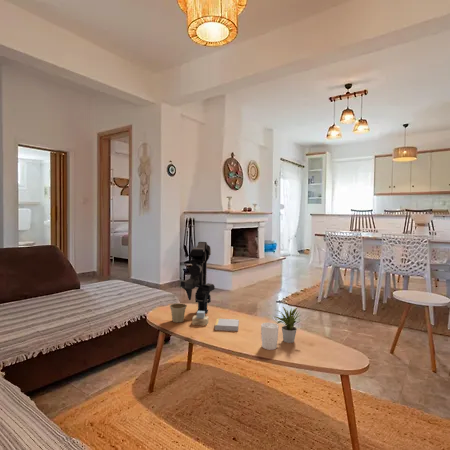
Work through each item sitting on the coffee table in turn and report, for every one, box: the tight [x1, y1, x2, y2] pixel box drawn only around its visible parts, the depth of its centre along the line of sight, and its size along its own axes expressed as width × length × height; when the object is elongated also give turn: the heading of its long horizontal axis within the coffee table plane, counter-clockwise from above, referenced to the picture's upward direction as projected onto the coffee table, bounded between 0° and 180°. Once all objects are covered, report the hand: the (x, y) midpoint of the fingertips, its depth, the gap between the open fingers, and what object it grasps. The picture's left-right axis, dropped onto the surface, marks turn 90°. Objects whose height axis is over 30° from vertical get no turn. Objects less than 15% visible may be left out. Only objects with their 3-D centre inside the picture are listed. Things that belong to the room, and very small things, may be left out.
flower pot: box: [169, 302, 188, 324], centre depth 181 cm, size 9×9×9 cm
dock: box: [214, 318, 240, 332], centre depth 173 cm, size 11×12×3 cm
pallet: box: [191, 314, 210, 327], centre depth 178 cm, size 8×6×4 cm
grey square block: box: [196, 310, 206, 319], centre depth 178 cm, size 4×4×3 cm
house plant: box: [274, 306, 301, 344], centre depth 157 cm, size 14×14×16 cm
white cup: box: [260, 322, 279, 351], centre depth 148 cm, size 8×8×10 cm
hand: (196, 301), depth 173 cm, fingers open, 9 cm apart
